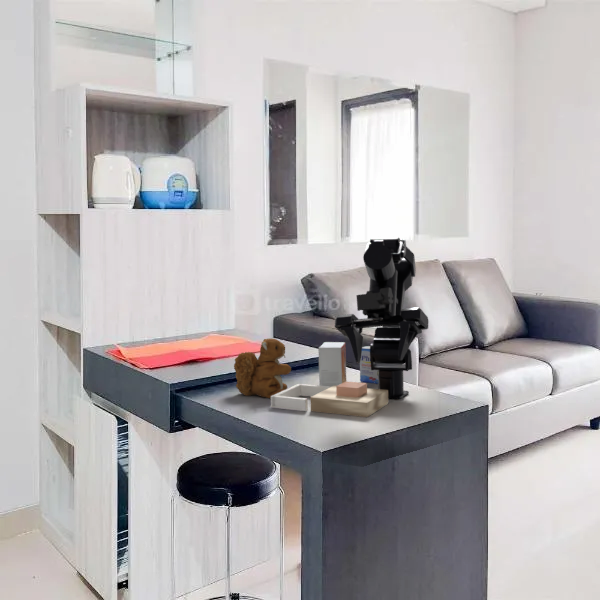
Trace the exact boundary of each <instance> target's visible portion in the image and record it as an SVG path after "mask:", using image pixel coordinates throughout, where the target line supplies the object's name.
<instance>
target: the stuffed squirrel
mask: <svg viewBox="0 0 600 600" xmlns="http://www.w3.org/2000/svg"><path fill="white" fill-rule="evenodd" d="M259 348H260V350H259V353H260V354H259V357H257V356H256V353H254V352H251V351H248V352H247V351H245V352H240V353H239V354H238V355H237V356H236V357H235V359H234V362H235V363H234V364H233V368H234V371H235V377H236V378H235V379H236V380H237V381H236V385H235V387H236V389H237V390H238V391H239V392H240V393H241V394H242V395H244V396H248V397H249V396H259V397H262V398H266V399H267V398H268V399H271V396H272V395H275V394H277V393H279V392H281V391H283V390H286V389H288V385H287V384H286V383H284V382H283V377H282V375H283V376H284V375H289V374H290V373H291V371H292V367H291V365H289V364H287V363H280V361H279V360H280V359H281V358H283V357H284V358H286V355H285V354H286V345H285V344H284V343H283V342H281V341H280V340H278V339H276V338H272V337H270V338H264V339H263V341H262V342H261V345H260V347H259Z"/></svg>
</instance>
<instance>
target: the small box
mask: <svg viewBox="0 0 600 600" xmlns="http://www.w3.org/2000/svg"><path fill="white" fill-rule="evenodd" d="M317 349H318V377H319V378H318V379H319V382H318V383H319V384H318V385H319V386H329V387H332V386H334V385H336V386H338V385H340V384H342V383H344V382H346V381H347V356H346V355H347V351H346V350H347V349H346V342H344V341H343V342H342V341H341V342H339V341H335V342H334V341H325V342H323V343H322V344H321V345H320V346H319V347H318V348H317Z"/></svg>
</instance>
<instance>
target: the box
mask: <svg viewBox="0 0 600 600" xmlns="http://www.w3.org/2000/svg"><path fill="white" fill-rule="evenodd" d="M328 388H330V387H329V386H320V385H319V384H318V385H316V384H305V383H297V384H295V385H293V386H290V387H287V389H286V390H283V391H281V392H279V393H277V394H275V395H272V396H271V398H270V408H273V409H280V410H281V409H282V410H291V411H299V412H300V411H301V412H307V411H308V410H309V409H308V404H309V403H308V398H304V397H312V396H314V395H316V394H318V393H320V392H322V391H324V390H326V389H328ZM300 396H303V397H300Z"/></svg>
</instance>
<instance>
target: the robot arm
mask: <svg viewBox="0 0 600 600" xmlns="http://www.w3.org/2000/svg"><path fill="white" fill-rule="evenodd" d="M362 258H363V263H364V266H365V269H366V272H367V276H368V277H369V290H367V291H366V293H362V294H357V295H356V307H357V309H356V310H357V311H358V312H359V311H362V314H363V315H364V316H367V318H359V317H357V316H356V315H355V314H354V313H348V314H347V313H346V314H340V315H338V316H337V317H335V320H334V328H335V329H337V331H339V332H340V333H341V334H342V335H343V336H344V337H347V338H348V340H349V342H350V346H351V349H352V353H353V356H354V359H355V362H356V364H360V360H361V353H362V347H363V343H364V336H363V335H362V333H363V329H366V328H367V329H368V328H375V330H374V336H373V339H372V340H373V341H372V343H370V344H369V345H370V361H371V370H378V384H377V385H378V388H377V389H382V390H388V399H395V400H401V399H403V397H405V396H406V395H408V394H409V392H410V391H409V390H404V388H405V387H404V385H405V384H404V371H405V372H408V371H411V370H413V357H412V349H410V346H411V345H412V343H413V342H414V340H415V339H416V337H418V335H420V334H422V332H423V331H424V330H428V329H429V317H428V315H426V314H425V312H424V311H423V310H422V309H421V308H420V306H417V307H406V308H404V305H405V293H406V291H407V290H408V289H409V288H411V287H412V285H413V279H414V278H415V277H416V272H417V271H416V268H417V267H416V259H415V253H413V251H412V250H410V248H409V247H408V246H407V241H406V239H403V238H400V237H399V236H395V237H394V236H393V237H392V236H391V237H371V238H370V240H369V242H367V243H366V246H365V249H364V252H363V257H362Z"/></svg>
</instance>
